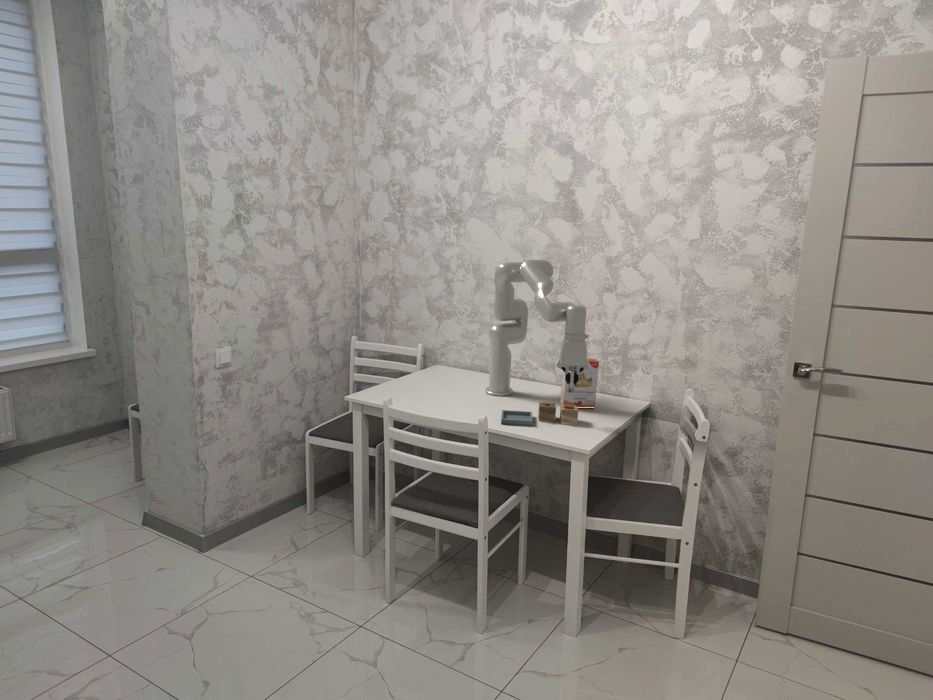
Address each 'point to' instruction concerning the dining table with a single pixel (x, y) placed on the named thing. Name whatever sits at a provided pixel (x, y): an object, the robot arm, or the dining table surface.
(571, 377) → the steel pin
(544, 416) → the walnut block
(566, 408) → the oak block
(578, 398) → the cracker box
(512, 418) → the tray
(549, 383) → the dining table surface
